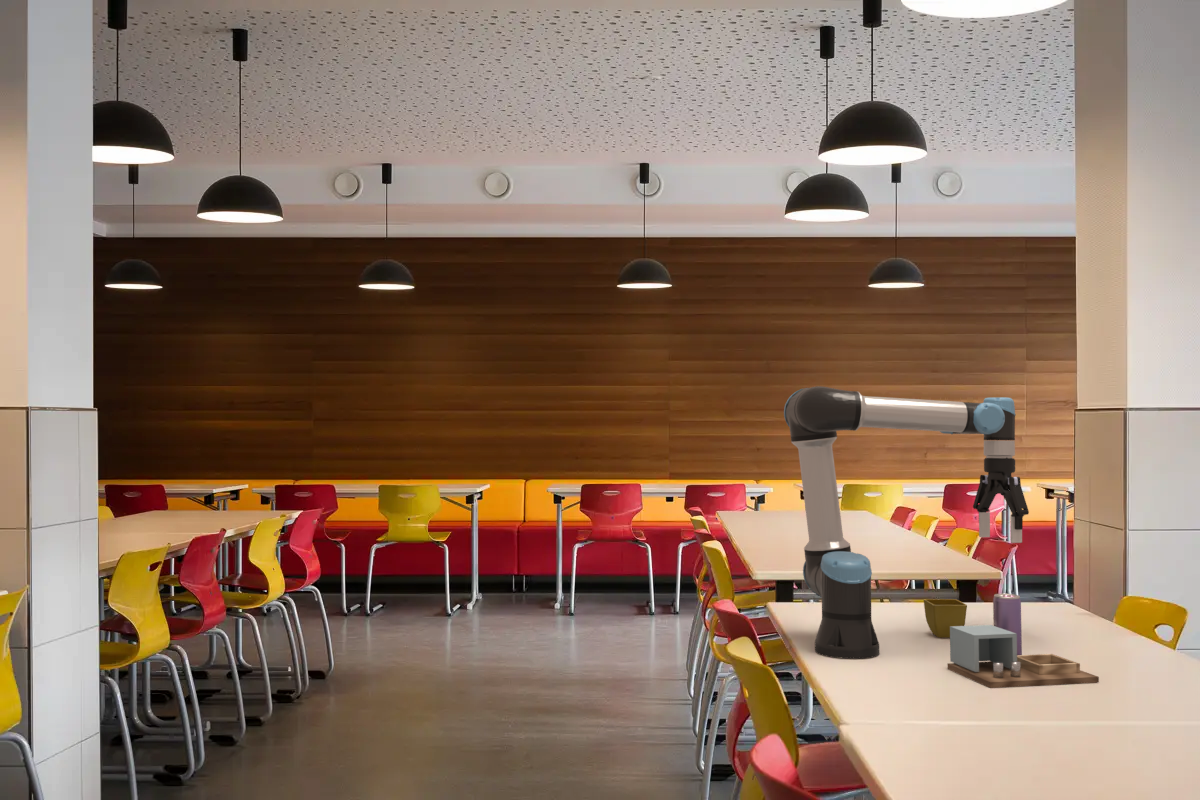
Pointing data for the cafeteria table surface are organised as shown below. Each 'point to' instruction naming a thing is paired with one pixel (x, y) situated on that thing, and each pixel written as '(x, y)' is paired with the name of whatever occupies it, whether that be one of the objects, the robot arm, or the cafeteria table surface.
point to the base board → (1030, 672)
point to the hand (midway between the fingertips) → (1000, 539)
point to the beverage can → (1008, 615)
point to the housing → (981, 645)
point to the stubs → (1014, 669)
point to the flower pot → (944, 615)
